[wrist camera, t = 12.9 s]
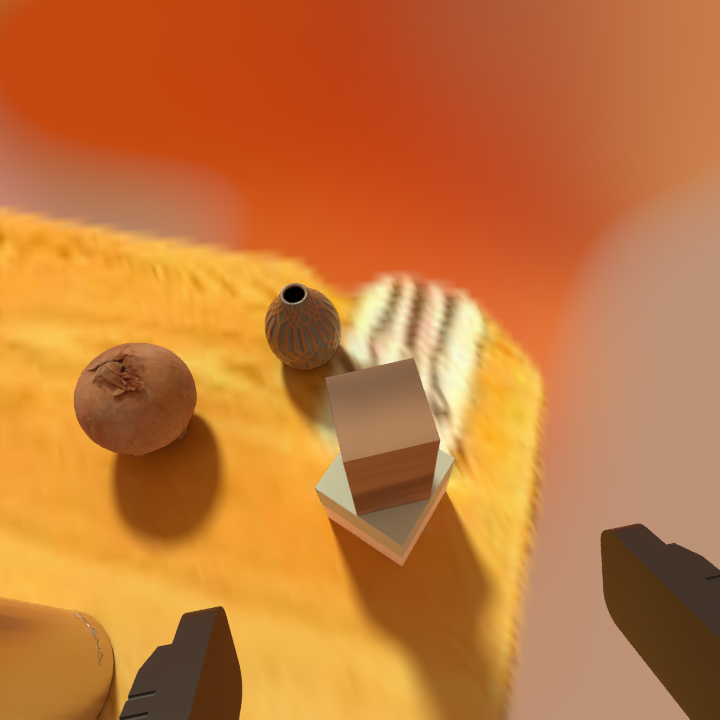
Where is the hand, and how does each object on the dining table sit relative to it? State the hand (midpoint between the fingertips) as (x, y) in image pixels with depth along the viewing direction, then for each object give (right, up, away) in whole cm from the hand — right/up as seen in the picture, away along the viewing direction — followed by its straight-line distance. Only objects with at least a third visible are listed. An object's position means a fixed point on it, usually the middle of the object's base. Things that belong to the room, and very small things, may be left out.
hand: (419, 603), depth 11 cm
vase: (-6, +6, +40) cm, 41 cm away
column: (0, -3, +25) cm, 25 cm away
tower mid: (+1, -5, +28) cm, 29 cm away
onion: (-20, -1, +37) cm, 42 cm away
